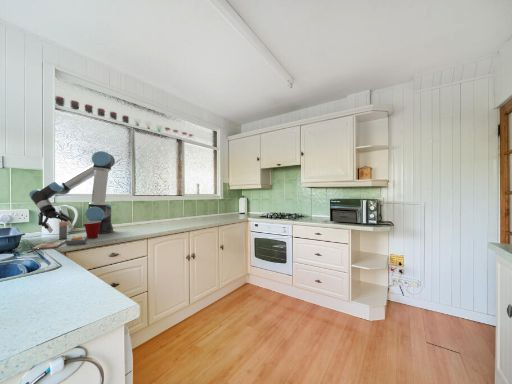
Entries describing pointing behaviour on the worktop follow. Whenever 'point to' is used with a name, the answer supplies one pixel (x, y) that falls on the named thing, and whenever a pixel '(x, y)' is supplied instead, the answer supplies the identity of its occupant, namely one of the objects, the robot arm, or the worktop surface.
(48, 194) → the robot arm
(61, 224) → the marker
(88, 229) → the plastic cup
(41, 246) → the picture board
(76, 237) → the button
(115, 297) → the worktop surface
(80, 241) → the button housing
